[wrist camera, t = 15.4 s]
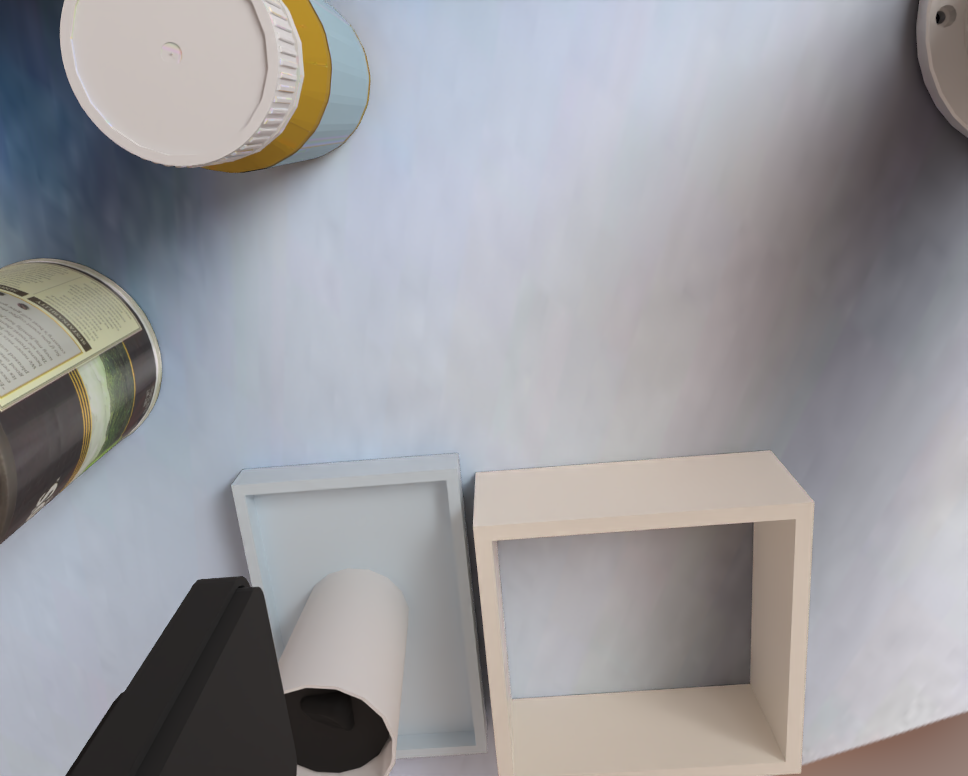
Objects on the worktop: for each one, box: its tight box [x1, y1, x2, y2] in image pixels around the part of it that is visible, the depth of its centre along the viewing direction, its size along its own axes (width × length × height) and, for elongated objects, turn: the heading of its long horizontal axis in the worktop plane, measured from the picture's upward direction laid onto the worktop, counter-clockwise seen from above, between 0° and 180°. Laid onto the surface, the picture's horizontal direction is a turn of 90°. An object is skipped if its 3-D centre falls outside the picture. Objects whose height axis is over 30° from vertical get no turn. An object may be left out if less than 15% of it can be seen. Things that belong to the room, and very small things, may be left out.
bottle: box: [60, 0, 370, 173], centre depth 29 cm, size 7×7×15 cm
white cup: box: [278, 568, 409, 776], centre depth 40 cm, size 7×7×10 cm
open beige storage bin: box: [473, 450, 814, 776], centre depth 42 cm, size 16×16×6 cm
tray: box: [231, 453, 488, 759], centre depth 44 cm, size 12×18×2 cm, turn 5°
